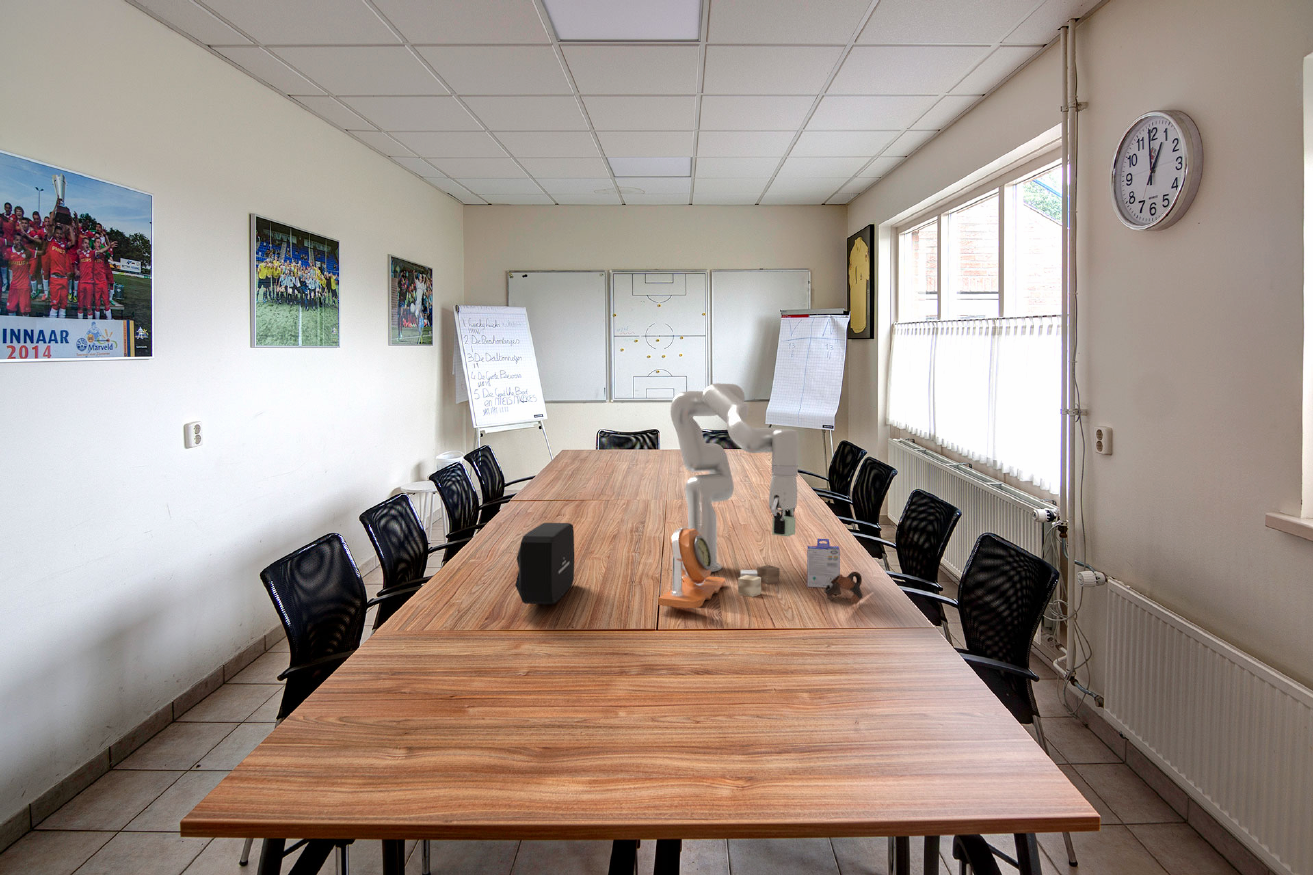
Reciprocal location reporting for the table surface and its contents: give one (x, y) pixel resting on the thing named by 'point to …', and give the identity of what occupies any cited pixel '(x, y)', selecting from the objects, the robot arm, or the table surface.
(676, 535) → the desk clock
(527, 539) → the black hard case
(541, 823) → the table surface
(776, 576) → the walnut cube
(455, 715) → the table surface
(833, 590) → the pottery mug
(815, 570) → the ink cartridge box
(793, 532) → the sage cube
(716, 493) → the robot arm
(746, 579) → the maple cube
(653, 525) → the table surface
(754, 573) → the grey cube
